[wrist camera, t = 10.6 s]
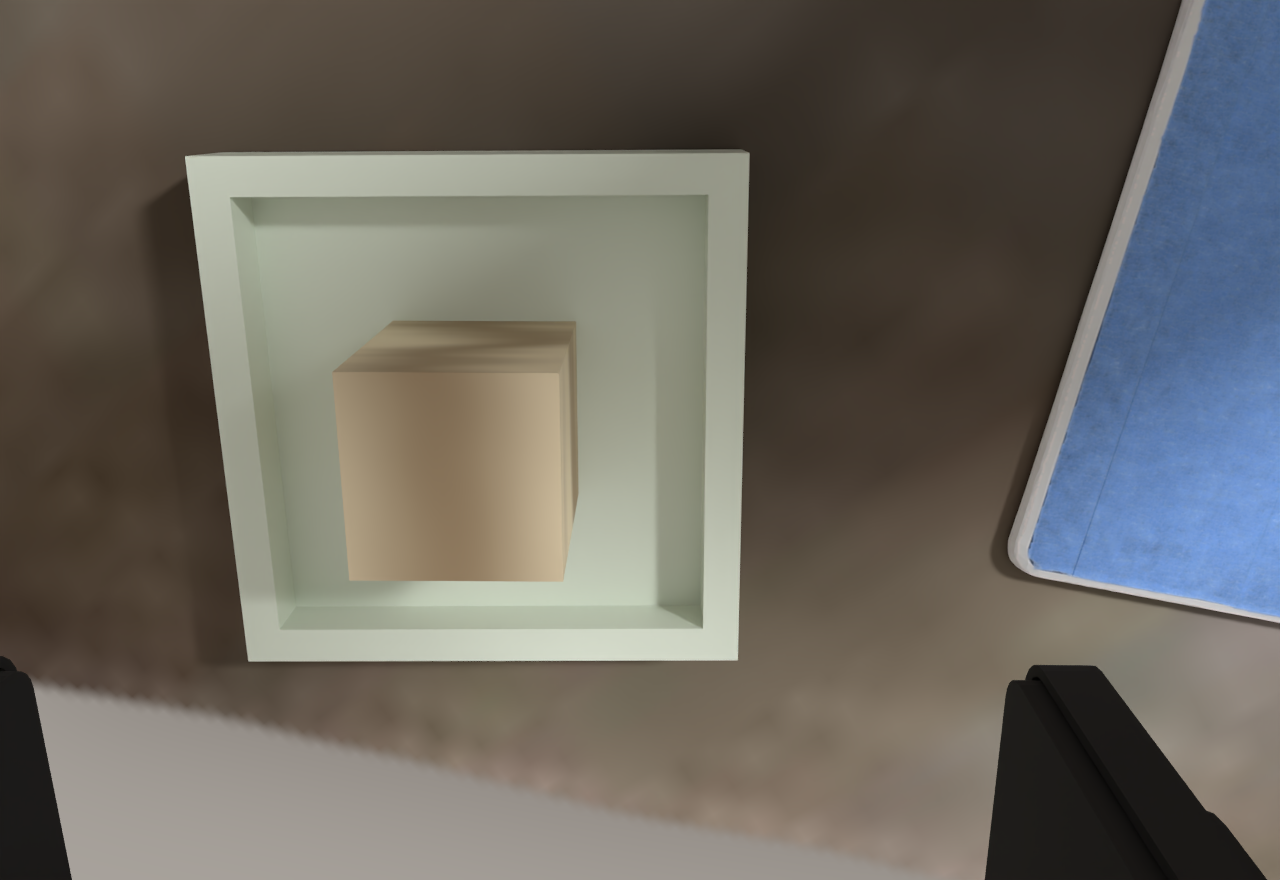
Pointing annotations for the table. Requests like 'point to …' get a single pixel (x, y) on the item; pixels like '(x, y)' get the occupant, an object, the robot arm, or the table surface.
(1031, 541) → the tablet computer
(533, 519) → the beech block
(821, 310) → the table surface
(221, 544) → the table surface
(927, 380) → the table surface
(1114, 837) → the robot arm
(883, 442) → the table surface
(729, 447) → the tray
